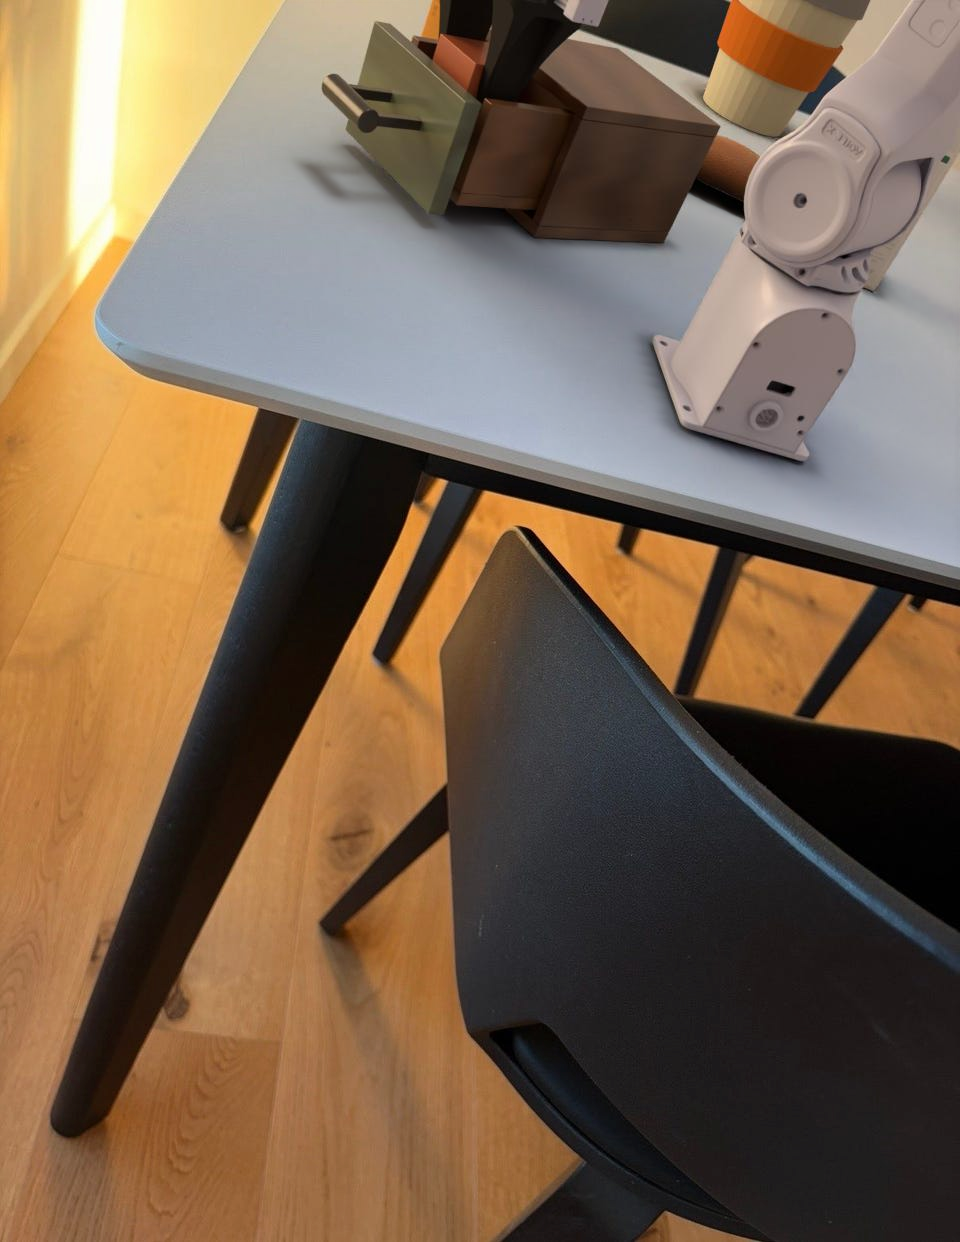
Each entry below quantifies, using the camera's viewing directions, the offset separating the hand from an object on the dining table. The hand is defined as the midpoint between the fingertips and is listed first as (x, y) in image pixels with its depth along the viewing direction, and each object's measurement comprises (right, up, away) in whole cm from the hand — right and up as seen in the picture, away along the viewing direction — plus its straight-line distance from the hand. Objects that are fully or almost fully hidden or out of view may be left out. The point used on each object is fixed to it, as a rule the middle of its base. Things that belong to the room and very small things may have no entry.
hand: (470, 95), depth 68 cm
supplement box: (-3, +12, +21) cm, 24 cm away
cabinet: (+6, -2, +10) cm, 12 cm away
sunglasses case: (+16, +6, +25) cm, 30 cm away
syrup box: (+30, -4, +22) cm, 37 cm away
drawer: (-3, -4, +3) cm, 5 cm away
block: (0, -1, +1) cm, 1 cm away
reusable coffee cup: (+28, +20, +46) cm, 58 cm away
